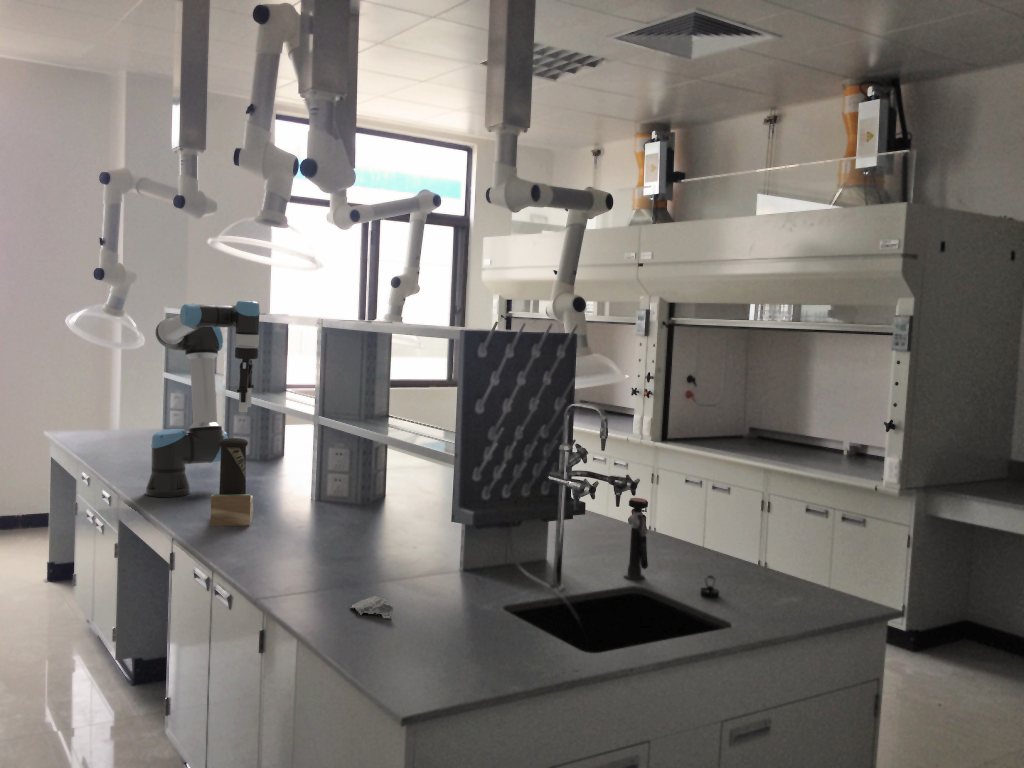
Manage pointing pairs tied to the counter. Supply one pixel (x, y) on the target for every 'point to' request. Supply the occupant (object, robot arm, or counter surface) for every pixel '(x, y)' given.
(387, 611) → the stone
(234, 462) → the container
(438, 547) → the counter surface
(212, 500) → the stand
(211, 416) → the robot arm
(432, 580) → the counter surface
